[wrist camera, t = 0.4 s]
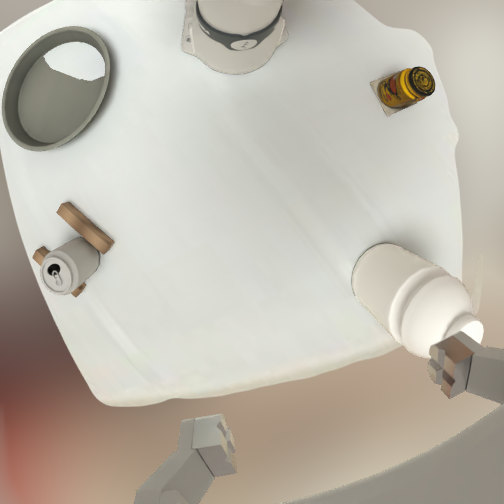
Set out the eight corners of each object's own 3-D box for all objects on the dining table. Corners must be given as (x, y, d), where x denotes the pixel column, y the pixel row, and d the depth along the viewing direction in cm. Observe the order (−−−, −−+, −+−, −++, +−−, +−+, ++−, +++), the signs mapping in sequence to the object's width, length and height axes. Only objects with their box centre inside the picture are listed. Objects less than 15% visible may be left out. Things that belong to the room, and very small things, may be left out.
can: (90, 230, 52) (61, 246, 41) (107, 267, 54) (82, 290, 43) (61, 245, 52) (29, 263, 41) (77, 280, 54) (49, 304, 43)
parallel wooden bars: (114, 242, 53) (109, 245, 50) (81, 291, 55) (75, 297, 52) (68, 201, 50) (61, 203, 48) (39, 253, 52) (32, 257, 49)
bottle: (390, 314, 62) (466, 389, 35) (338, 296, 60) (408, 380, 33) (419, 255, 59) (513, 307, 32) (369, 231, 57) (465, 279, 30)
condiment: (369, 82, 50) (400, 66, 38) (400, 71, 49) (433, 55, 38) (386, 116, 52) (421, 107, 40) (416, 103, 51) (452, 94, 40)
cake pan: (127, 124, 49) (119, 121, 44) (21, 170, 48) (9, 171, 44) (109, 15, 42) (102, 6, 38) (10, 66, 41) (-1, 61, 37)
